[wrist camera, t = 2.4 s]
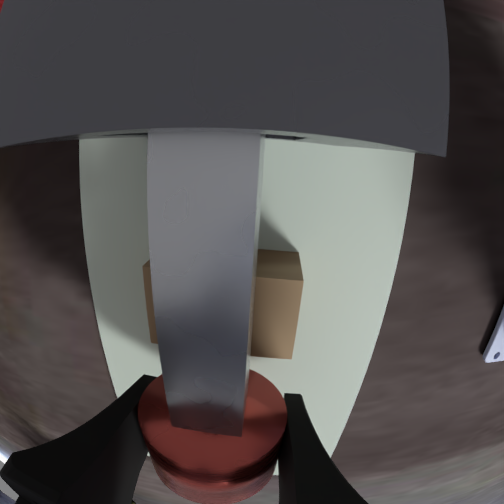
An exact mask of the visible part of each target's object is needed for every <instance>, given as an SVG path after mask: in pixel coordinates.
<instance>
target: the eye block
mask: <svg viewBox="0 0 504 504" xmlns="http://www.w3.org/2000/svg"><path fill="white" fill-rule="evenodd" d="M448 123H449V52H448V37H447V26H446V17H445V9H444V1H443V0H4V2H3V5H2V9H1V12H0V148H4V147H11V146H18V145H26V144H34V143H44V142H54V141H66V140H79V139H97V138H126V137H148V133H149V132H235V133H256V134H266V135H265V139H273V140H286V141H297V142H307V143H317V144H325V145H334V146H346V147H360V148H373V149H384V150H393V151H403V152H411V153H419V154H427V155H434V156H440V157H446V151H447V139H448Z"/></svg>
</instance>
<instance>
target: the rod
mask: <svg viewBox="0 0 504 504" xmlns="http://www.w3.org/2000/svg"><path fill="white" fill-rule="evenodd" d="M265 135H266V134H256V133H235V132H149V133H148V148H147V207H148V236H149V255H150V270H151V283H152V294H153V305H154V315H155V324H156V332H157V340H158V348H159V355H160V362H161V369H162V374H161V375H160V376H158V377H157V378H156V379H154V380H153V381H152V382H151V383H150V384H149V385H148V387H147V388H146V389H145V391H144V392H143V394H142V396H141V399H140V401H139V406H138V420H139V424H140V427H141V431H142V434H143V437H144V440H145V443H146V446H147V449H148V451H149V454H150V457H151V460H152V463H153V465H154V468H155V470H156V473H157V474H158V476H159V478H160V479H161V480H162V482H163V483H164V484H165V485H166V486H167V487H168V488H169V489H171V490H172V491H173V492H175V493H176V494H178V495H179V496H181V497H183V498H185V499H188V500H191V501H194V502H197V503H202V504H231V503H235V502H239V501H242V500H244V499H247V498H249V497H251V496H253V495H254V494H256V493H257V492H259V491H260V490H261V489H262V488H263V487H264V486H265V485H266V484H267V483H268V482H269V480H270V479H271V477H272V475H273V473H274V471H275V468H276V465H277V461H278V457H279V453H280V448H281V444H282V440H283V436H284V432H285V427H286V423H287V407H286V404H285V401H284V399H283V396H282V395H281V393H280V392H279V390H278V389H277V388H276V387H275V385H274V384H273V383H272V382H270V381H269V380H268V379H267V378H265V377H264V376H262V375H261V374H259V373H257V372H255V371H253V370H251V369H249V368H250V355H251V341H252V327H253V313H254V299H255V285H256V270H257V256H258V241H259V226H260V212H261V196H262V181H263V166H264V150H265Z"/></svg>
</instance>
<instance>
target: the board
mask: <svg viewBox="0 0 504 504" xmlns="http://www.w3.org/2000/svg"><path fill="white" fill-rule="evenodd" d="M147 148H148V137H126V138H97V139H79V167H80V194H81V210H82V222H83V233H84V242H85V251H86V259H87V266H88V273H89V279H90V285H91V291H92V297H93V302H94V308H95V313H96V318H97V322H98V327H99V332H100V336H101V340H102V344H103V349H104V353H105V356H106V360H107V364H108V368H109V371H110V375H111V378H112V382H113V385H114V389H115V392H116V395H117V398H118V397H120V396H121V395H122V394H123V393H124V392H125V391H126V390H127V389H128V388H130V387H131V386H132V385H133V384H134V383H135V382H136V381H137V380H138V379H139V378H140V377H141V376H142V375H144V374H145V375H150V376H155V377H158V376H160V375H161V374H162V369H161V362H160V355H159V348H158V344H154V343H151V340H150V333H149V325H148V317H147V309H146V300H145V290H144V279H143V267H142V266H143V265H144V264H145V263H146V262H147V261H148V260H149V259H150V255H149V236H148V207H147ZM414 156H415V153H411V152H403V151H393V150H384V149H373V148H360V147H346V146H334V145H325V144H317V143H307V142H297V141H286V140H273V139H265V150H264V166H263V181H262V196H261V212H260V226H259V241H258V249H266V250H278V251H290V252H299V256H300V262H301V268H302V274H303V280H304V283H303V290H302V297H301V304H300V311H299V317H298V324H297V330H296V336H295V342H294V349H293V355H292V359H278V358H265V357H253V356H250V368H249V369H251V370H253V371H255V372H257V373H259V374H261V375H262V376H264V377H265V378H267V379H268V380H269V381H270V382H272V383H273V384H274V385H275V387H276V388H277V389H278V390H279V392H280V393H281V395H282V396H283V398H284V393H294V394H301V395H302V397H303V401H304V404H305V407H306V410H307V412H308V415H309V417H310V420H311V422H312V424H313V427H314V429H315V431H316V433H317V435H318V437H319V439H320V441H321V443H322V444H323V446H324V448H325V450H326V451H327V453H328V455H329V456H330V458H331V455H332V453H333V451H334V449H335V447H336V445H337V443H338V440H339V438H340V436H341V434H342V431H343V429H344V427H345V424H346V422H347V420H348V417H349V415H350V413H351V410H352V408H353V405H354V403H355V400H356V397H357V395H358V392H359V390H360V387H361V384H362V382H363V379H364V376H365V373H366V370H367V368H368V365H369V362H370V359H371V356H372V353H373V350H374V347H375V344H376V340H377V337H378V334H379V331H380V327H381V324H382V320H383V317H384V313H385V310H386V306H387V303H388V299H389V295H390V291H391V287H392V283H393V279H394V275H395V270H396V266H397V262H398V257H399V252H400V247H401V243H402V237H403V232H404V227H405V221H406V215H407V209H408V203H409V196H410V189H411V182H412V174H413V165H414ZM147 456H150V454H149V452H148V454H147ZM273 475H279V473H278V461H277V465H276V468H275V471H274V473H273Z"/></svg>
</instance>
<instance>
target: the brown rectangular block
mask: <svg viewBox="0 0 504 504" xmlns="http://www.w3.org/2000/svg"><path fill="white" fill-rule="evenodd" d="M142 267H143V279H144V290H145V300H146V309H147V317H148V325H149V333H150V340H151V343H154V344H158V340H157V332H156V324H155V315H154V305H153V294H152V283H151V270H150V259H149V260H148V261H147V262H146V263H145V264H144V265H143V266H142ZM303 283H304V280H303V274H302V268H301V262H300V256H299V252H290V251H278V250H266V249H258V256H257V270H256V285H255V299H254V313H253V327H252V341H251V355H250V356H253V357H265V358H278V359H292V355H293V349H294V342H295V336H296V330H297V324H298V317H299V311H300V304H301V297H302V290H303Z"/></svg>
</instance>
